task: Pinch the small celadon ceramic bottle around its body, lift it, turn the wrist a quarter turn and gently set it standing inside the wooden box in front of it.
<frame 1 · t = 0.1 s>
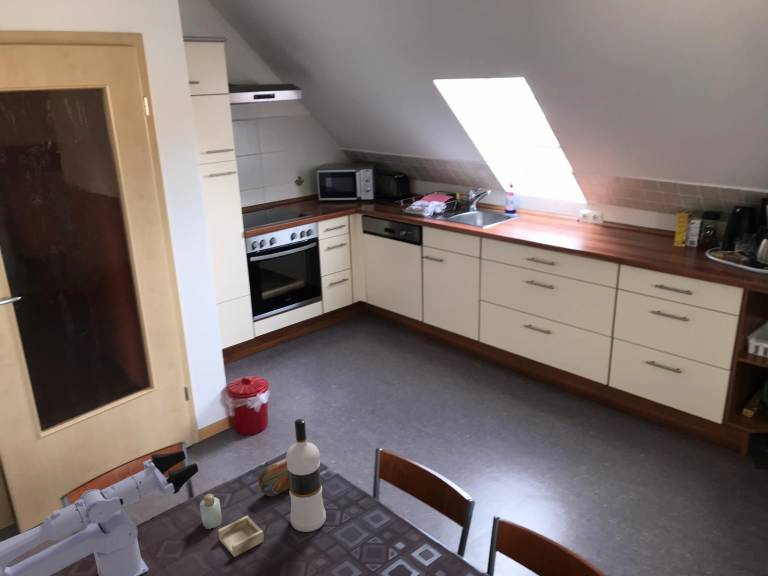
hand: (190, 460, 152), 22 cm above the table, tool horizontal, fingers open, 7 cm apart
wooden box: (241, 540, 156), on the table
tin: (284, 487, 176), on the table
vodka: (308, 522, 162), on the table
bottle: (212, 522, 163), on the table
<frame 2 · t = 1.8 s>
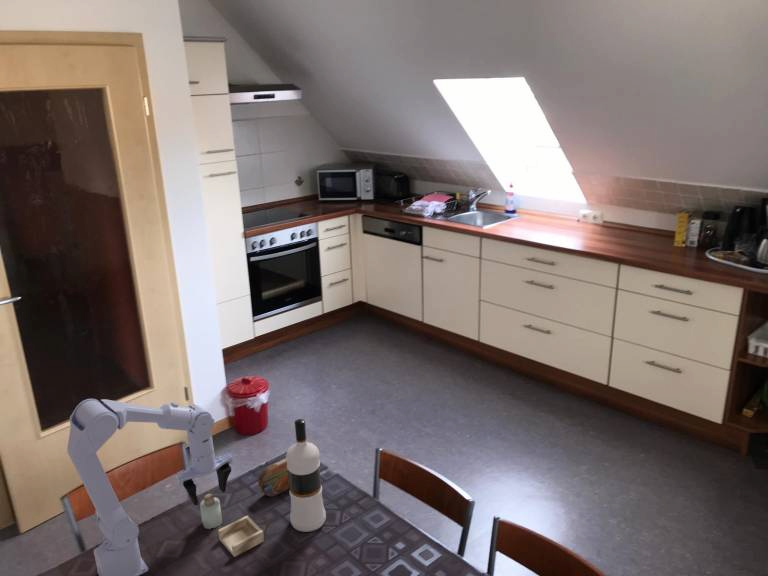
hand: (208, 496, 161), 8 cm above the table, tool pointing down, fingers open, 7 cm apart
nothing on the table moved.
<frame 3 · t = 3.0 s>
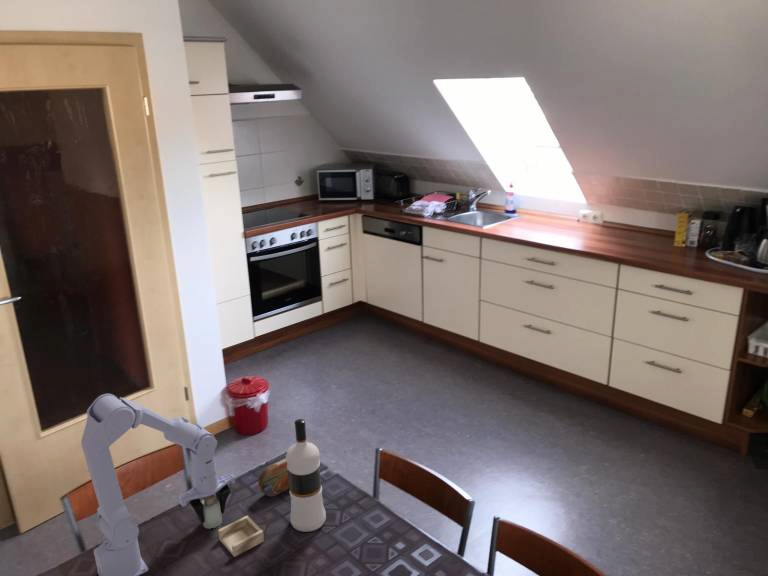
hand: (211, 516, 162), 2 cm above the table, tool pointing down, fingers closed on bottle, 5 cm apart
bottle: (212, 522, 163), on the table, touching gripper
everything else where it was.
when the fingers open (4 cm above the table, at t = 7.1 s): bottle drops 1 cm, resting on wooden box.
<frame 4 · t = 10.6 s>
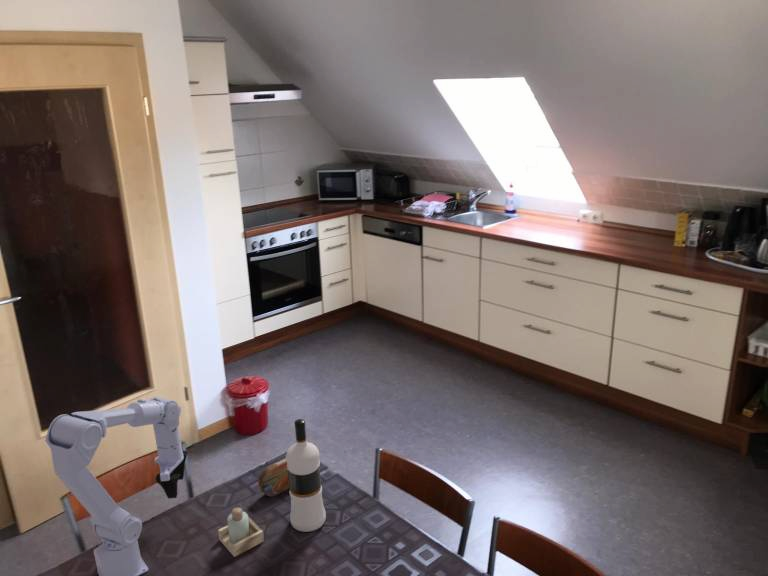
hand: (175, 488, 161), 10 cm above the table, tool pointing down, fingers open, 7 cm apart
bottle: (239, 537, 156), point 1 cm above the table, touching wooden box
everything else where it was.
at the end: bottle 0.5 cm off-centre on the wooden box, point 1.0 cm above the wooden box's base; bottle tilted 1°; the gripper is holding nothing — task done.
